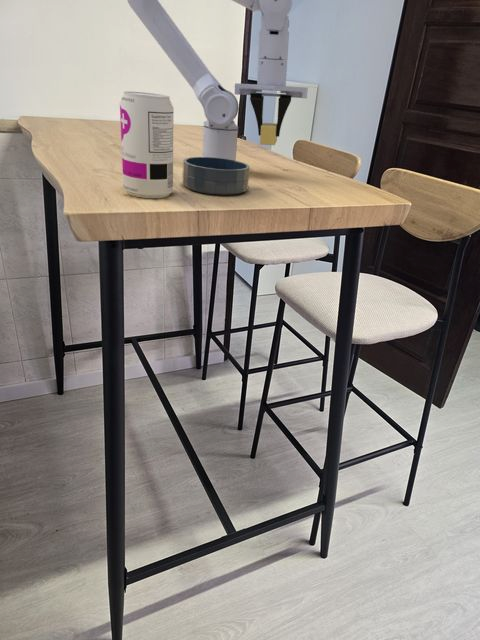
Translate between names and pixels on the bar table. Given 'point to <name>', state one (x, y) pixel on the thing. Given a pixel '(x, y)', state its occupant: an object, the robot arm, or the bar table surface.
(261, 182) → the bar table surface
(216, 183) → the bowl
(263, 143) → the butter
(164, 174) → the supplement can
